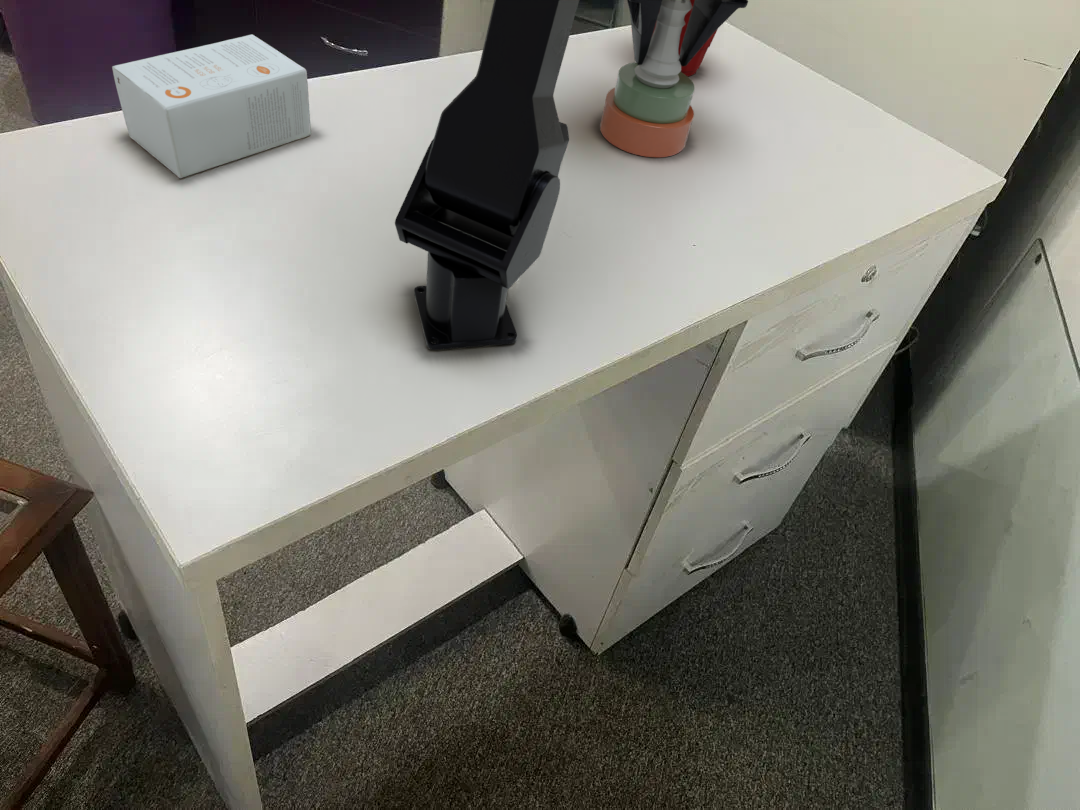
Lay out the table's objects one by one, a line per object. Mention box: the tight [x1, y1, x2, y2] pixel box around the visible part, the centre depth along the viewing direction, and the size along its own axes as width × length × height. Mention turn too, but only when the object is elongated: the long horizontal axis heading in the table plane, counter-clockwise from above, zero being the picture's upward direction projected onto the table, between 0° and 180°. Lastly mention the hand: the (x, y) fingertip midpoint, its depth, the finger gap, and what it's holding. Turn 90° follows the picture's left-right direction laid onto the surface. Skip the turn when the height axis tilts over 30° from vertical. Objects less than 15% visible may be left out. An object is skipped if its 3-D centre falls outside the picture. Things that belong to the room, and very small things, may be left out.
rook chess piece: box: [635, 0, 693, 88], centre depth 73 cm, size 4×4×8 cm
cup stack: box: [599, 61, 696, 158], centre depth 78 cm, size 9×9×6 cm
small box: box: [111, 34, 312, 179], centre depth 67 cm, size 8×6×13 cm
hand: (660, 63), depth 75 cm, fingers closed on rook chess piece, 4 cm apart
